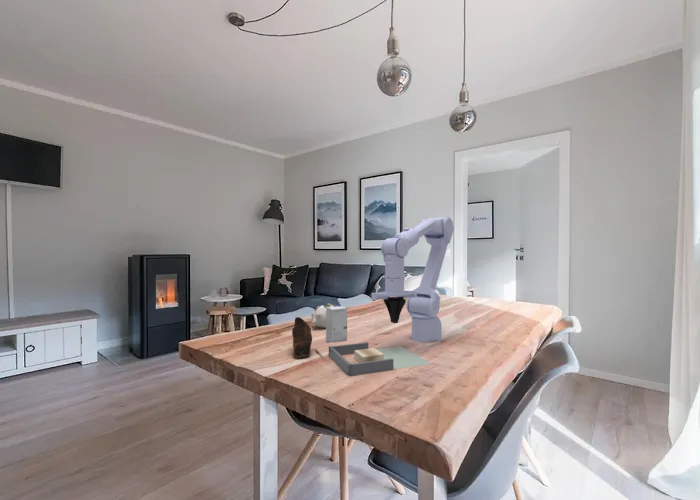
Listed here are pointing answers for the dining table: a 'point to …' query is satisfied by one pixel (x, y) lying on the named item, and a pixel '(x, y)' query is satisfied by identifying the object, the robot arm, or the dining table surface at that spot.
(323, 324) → the cat figurine
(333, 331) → the skincare box
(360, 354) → the birch tile
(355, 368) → the box
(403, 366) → the far plate
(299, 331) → the decorative rock
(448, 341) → the dining table surface
